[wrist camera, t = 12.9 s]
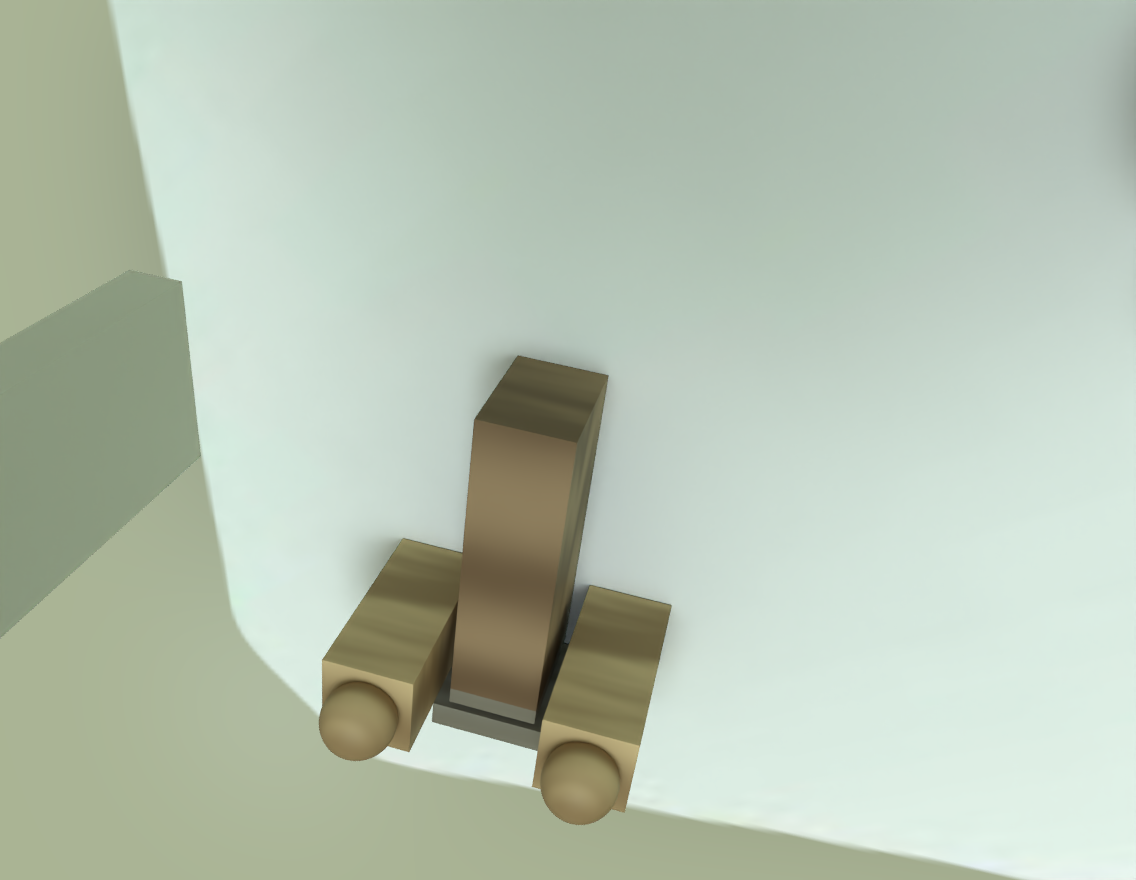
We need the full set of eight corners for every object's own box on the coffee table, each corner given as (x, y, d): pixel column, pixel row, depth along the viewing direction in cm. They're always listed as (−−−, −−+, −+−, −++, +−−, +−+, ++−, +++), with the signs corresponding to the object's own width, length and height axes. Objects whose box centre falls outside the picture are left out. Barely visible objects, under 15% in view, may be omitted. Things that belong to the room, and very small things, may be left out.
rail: (518, 355, 42) (474, 419, 37) (608, 375, 41) (577, 442, 36) (488, 618, 49) (449, 701, 44) (565, 637, 49) (534, 724, 44)
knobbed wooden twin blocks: (403, 538, 48) (295, 700, 39) (671, 605, 46) (629, 793, 37) (399, 618, 51) (297, 789, 41) (653, 685, 49) (609, 879, 39)
